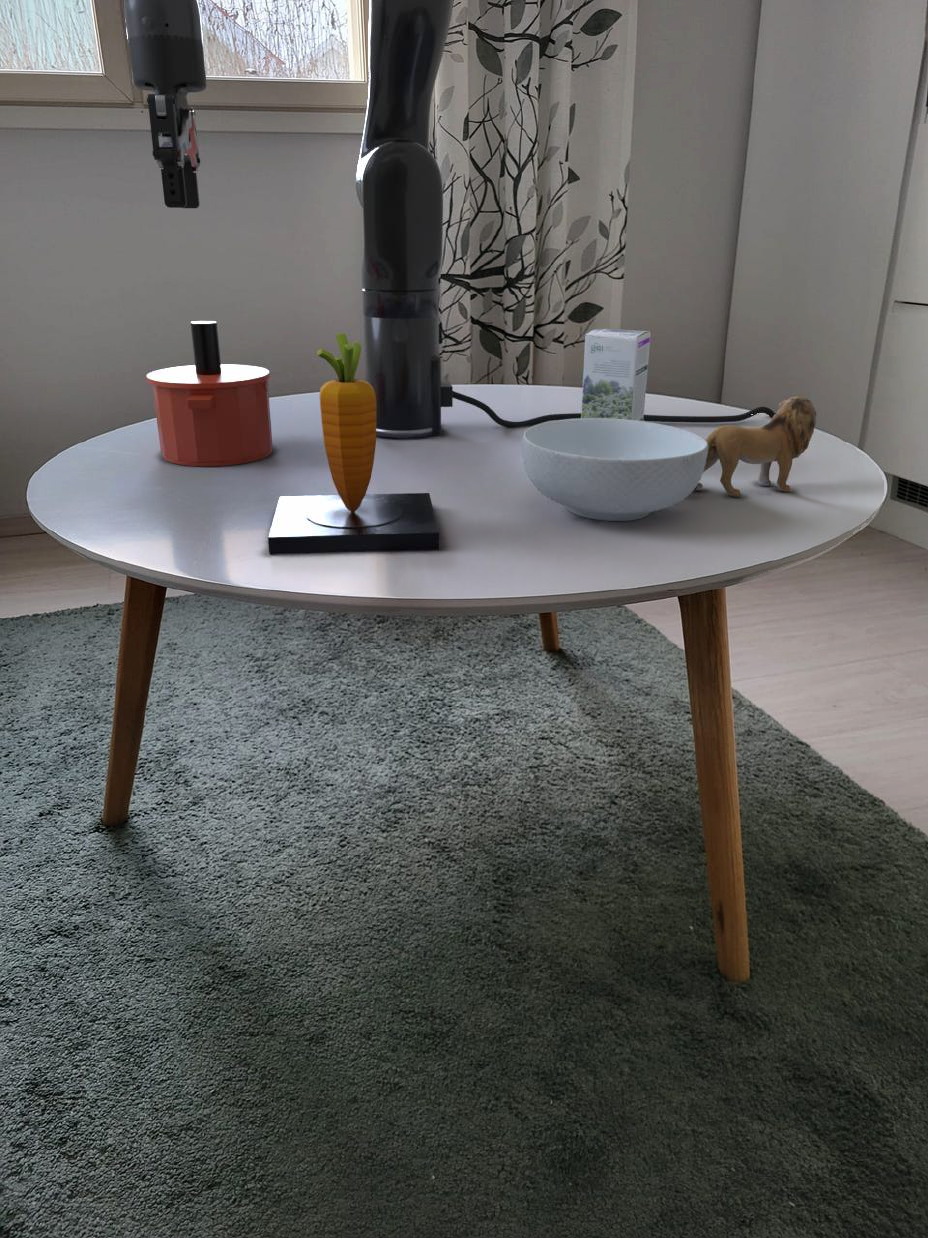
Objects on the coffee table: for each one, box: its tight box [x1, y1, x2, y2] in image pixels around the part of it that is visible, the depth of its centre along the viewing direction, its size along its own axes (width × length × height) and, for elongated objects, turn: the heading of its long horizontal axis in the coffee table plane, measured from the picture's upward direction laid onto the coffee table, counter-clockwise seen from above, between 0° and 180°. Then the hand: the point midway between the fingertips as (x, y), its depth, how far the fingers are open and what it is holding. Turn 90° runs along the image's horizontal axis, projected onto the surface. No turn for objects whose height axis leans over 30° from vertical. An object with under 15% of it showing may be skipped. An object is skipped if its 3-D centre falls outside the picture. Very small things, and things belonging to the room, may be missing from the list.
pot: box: [152, 379, 273, 467], centre depth 107 cm, size 12×18×8 cm
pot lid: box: [146, 320, 271, 389], centre depth 104 cm, size 13×13×7 cm
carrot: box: [316, 333, 377, 513], centre depth 79 cm, size 5×5×15 cm
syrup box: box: [580, 328, 651, 421], centre depth 101 cm, size 6×6×14 cm
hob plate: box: [267, 492, 440, 555], centre depth 82 cm, size 14×12×2 cm
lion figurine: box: [690, 396, 818, 498], centre depth 93 cm, size 15×5×9 cm, turn 116°
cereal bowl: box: [522, 418, 708, 522], centre depth 87 cm, size 17×17×7 cm
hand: (183, 207), depth 103 cm, fingers open, 8 cm apart
